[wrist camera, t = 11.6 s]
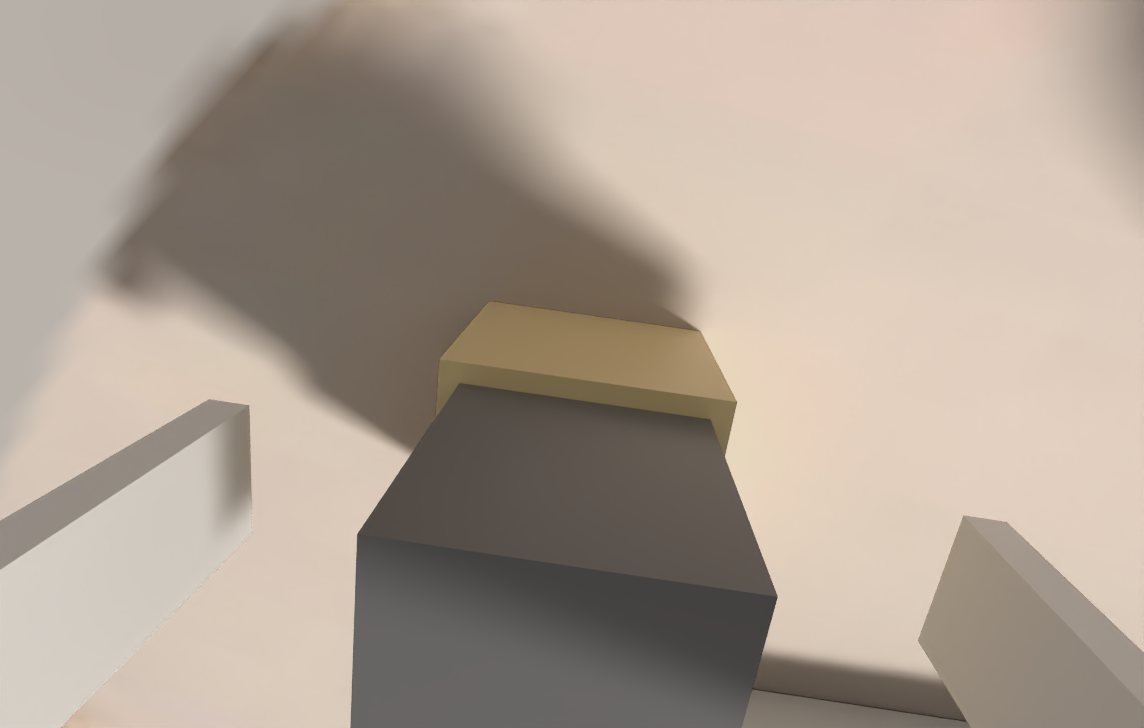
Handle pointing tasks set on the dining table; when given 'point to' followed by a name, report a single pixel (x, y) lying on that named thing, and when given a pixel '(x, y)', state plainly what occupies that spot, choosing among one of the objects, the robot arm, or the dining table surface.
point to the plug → (563, 539)
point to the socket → (830, 714)
